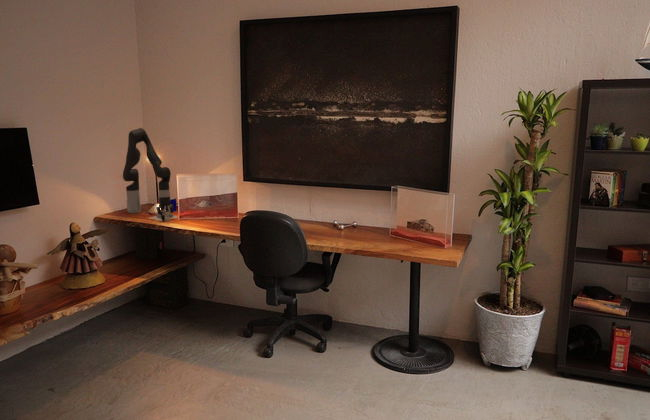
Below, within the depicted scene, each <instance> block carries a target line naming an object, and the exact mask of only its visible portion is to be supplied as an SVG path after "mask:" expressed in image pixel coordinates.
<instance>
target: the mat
mask: <svg viewBox="0 0 650 420" xmlns="http://www.w3.org/2000/svg"><path fill="white" fill-rule="evenodd" d="M176 218H178V216H177V215H173V217H171V218H170V220H172V219H176ZM148 219H152V220H156V221H159V222H160V221H161V222H163V221H162V219H161V218H158V217H157V215H156V216H150V217H148Z"/></svg>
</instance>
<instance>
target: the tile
mask: <svg viewBox="0 0 650 420" xmlns="http://www.w3.org/2000/svg"><path fill="white" fill-rule="evenodd" d="M156 216H157V217H158V218H161V215H159V214H158V213H157V214H156ZM173 216H174V214H173V213H171V214H170V218H171V217H173Z"/></svg>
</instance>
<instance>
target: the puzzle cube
mask: <svg viewBox="0 0 650 420" xmlns="http://www.w3.org/2000/svg"><path fill="white" fill-rule="evenodd" d="M158 203H159V198H158V199H157V204H158ZM159 204H160V203H159ZM170 204H173V205H174V209H173V212H176V211H178V206H177V198H175V197H170Z"/></svg>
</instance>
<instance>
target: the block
mask: <svg viewBox="0 0 650 420" xmlns="http://www.w3.org/2000/svg"><path fill="white" fill-rule="evenodd" d="M162 213H163V212H162ZM164 219H165V220H164V221H163V220H162V221H161V222H170V221H171V219H170V211H165V212H164Z"/></svg>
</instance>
